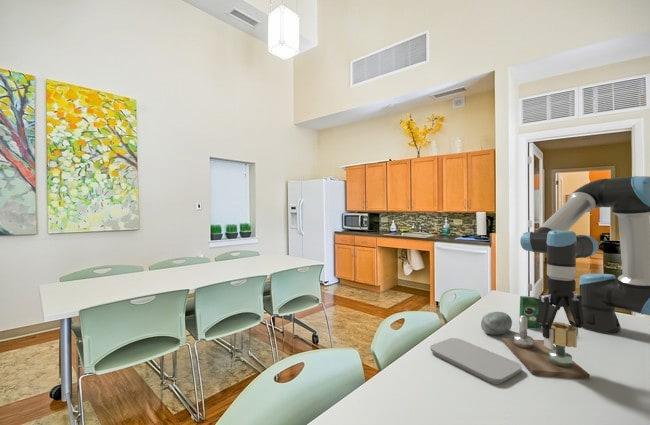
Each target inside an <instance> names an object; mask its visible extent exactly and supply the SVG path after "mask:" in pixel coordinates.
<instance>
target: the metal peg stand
mask: <svg viewBox="0 0 650 425" xmlns="http://www.w3.org/2000/svg"><path fill="white" fill-rule="evenodd" d="M555 347H556V350H550V351H549V362H550V363H551V364H553V365H555V366H558V367H562V368H571V367H572V361H573V356H572V355H571V354H570V353H569V352H566V347H564V346H559V345H555Z"/></svg>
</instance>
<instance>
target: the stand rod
mask: <svg viewBox="0 0 650 425" xmlns="http://www.w3.org/2000/svg"><path fill="white" fill-rule="evenodd" d="M519 319H520V325H519V333H516V334H514V335H513V338H514V345H515V346H517V347H519V348H523V349H532V348H533V340H534V338H533V337H532V336H529V335H528V327H527V317H526V316H524V315H522V316H520V315H519Z"/></svg>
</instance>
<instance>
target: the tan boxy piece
mask: <svg viewBox="0 0 650 425" xmlns="http://www.w3.org/2000/svg"><path fill="white" fill-rule="evenodd" d="M546 324H547V323H546ZM551 329H553V345H554V346H556V345H559V346H564V347H565V348H566V347H567V348H574V347H575V346H576V328H575V327H573V326H571V324H570V323H565V322H560V321H553V324H552V326H551Z"/></svg>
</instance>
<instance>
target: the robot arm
mask: <svg viewBox="0 0 650 425" xmlns="http://www.w3.org/2000/svg"><path fill="white" fill-rule="evenodd" d="M597 208H611V210H612V214H613V215H615V216H616V217H617V220H618V232H619V247H620V257H621V258H620V259H621V272H622V274H621V275H619V276H618V277H616V275H615V274H611V273H610V274H609V273H584V274H581V275H580V277H579V283H578V285H579V288H578V289H579V290H578V291H579V293H576V286H577V285H576V280H575V279H576V278H577V264H576V263H577V262H576V261H577V260H576V259H581V258H583V259H586V258H589V257H592V256H594V255H596V254H597V252H598V251H599V247H600V246H599V242H598V241H597V239H595V238H594V237H593V236H590V235H588V234H587V235H586V234H585V235H584V234H576V232H575V231H572V230H570V229H572V227H573V226H574V225H575V224H576V223H577V222H578V221H579V220H580V219H581V218H582V217H583V216H584V215H585V214H586V213H591V212H592V211H593V210H594V209H597ZM520 246H521V248H522V249H523V250H524V251H527V252H532V253H536V254H537V253H538V254H539V253H540V254H546V275H547V277H546V288H547V290H548V292H547V294H545V295H543V294H540V295H539V296H538V297H539V299H540V305H539V311H538V317H537V325H539V326H541V328H542V337H543V340H544V346H545V347H547V348H549V349H553V345H554V344H553V329H551V326H552V324H553V322H555V319H556V315H557V314H558V311H560V309H561V308H563V310H564V313H565V315H566V318H567V320H568V324H569V325H571V326H573V327H575V328H576V346H575V347H573V348H578V345H577V344H578V339H577V338H578V336H579V329H581V328H582V329H585V330H589V331H591V332H595V333H602V334H619V333H621V328H622V327H621V324H620V321H619V318H618V316H617V315H616V309H620V310H624V311H629V312H632V313H637V314H639V315H640V314H641V315H646V316H650V176H647V175H645V176H644V175H643V176H638V175H636V176H635V175H634V176H625V177H624V176H623V177H613V178H601V179H600V178H599V179H596V180H593V181H591V182H587V183H585V184H584V185H582V186H580V187H579V188H577V189H575V190H574V191H573V192H572V193H571V194H570V195H569V196H568V197H567V201H566V202H565V203H564V204H563V205H562V206H561V207H560V208H559V209H558V210H556V211H555V213H553V214H552V215H551V216H550V217H549V218H548V219H547V220H545V222H543V223H542V225H540V227H538V228H537V229H536V230H535V231H526V232H524V233H522V234H521V236H520ZM616 278H617V279H616ZM574 292H575V293H574ZM546 323H547V324H546Z"/></svg>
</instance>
